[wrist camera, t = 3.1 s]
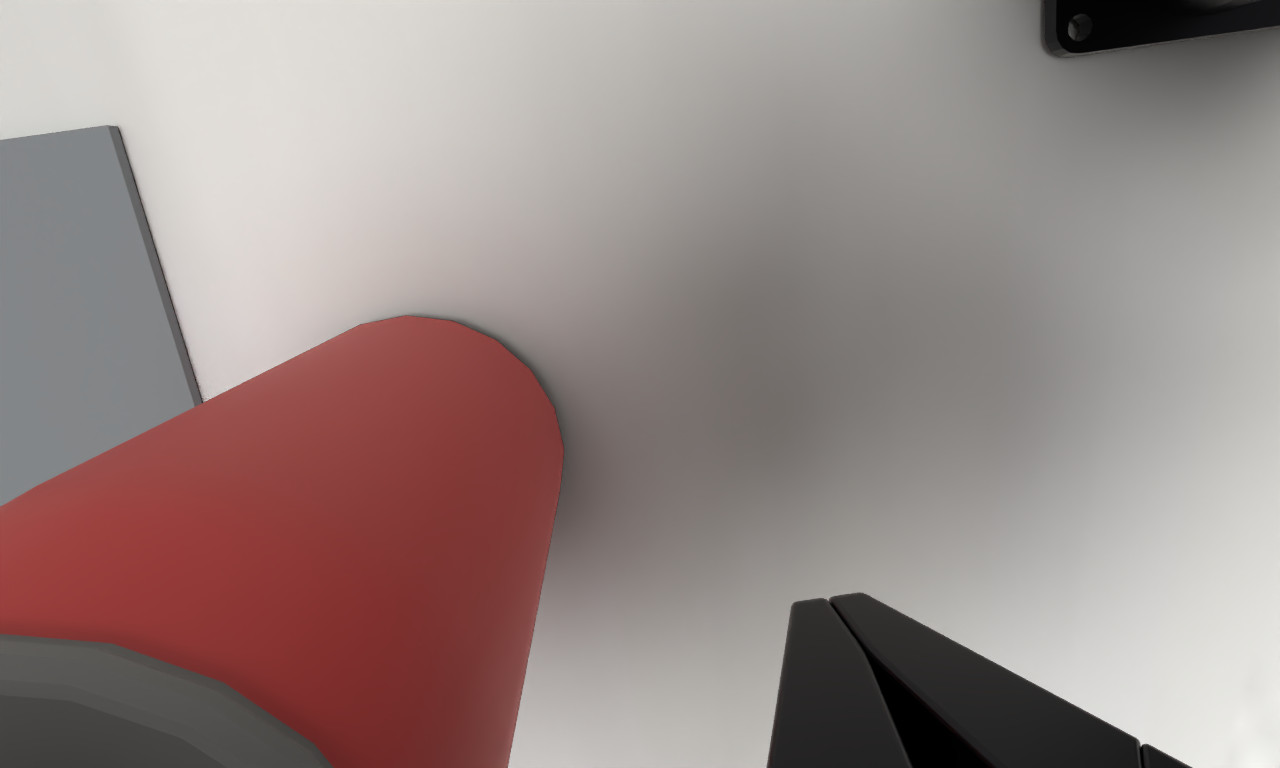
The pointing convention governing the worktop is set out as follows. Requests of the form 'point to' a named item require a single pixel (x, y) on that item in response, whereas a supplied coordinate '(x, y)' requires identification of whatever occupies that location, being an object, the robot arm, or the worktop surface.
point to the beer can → (292, 569)
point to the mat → (79, 309)
